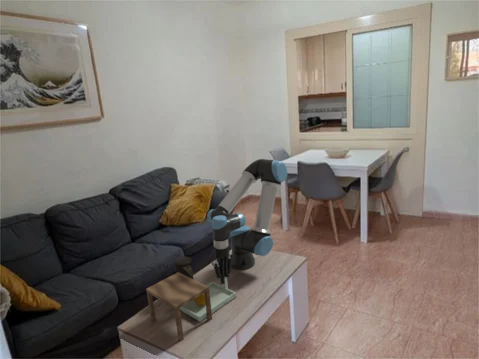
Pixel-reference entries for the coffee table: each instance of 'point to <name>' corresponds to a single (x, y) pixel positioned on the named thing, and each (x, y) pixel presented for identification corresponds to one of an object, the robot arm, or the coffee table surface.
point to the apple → (200, 300)
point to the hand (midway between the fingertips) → (225, 288)
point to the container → (184, 266)
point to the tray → (217, 300)
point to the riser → (178, 296)
